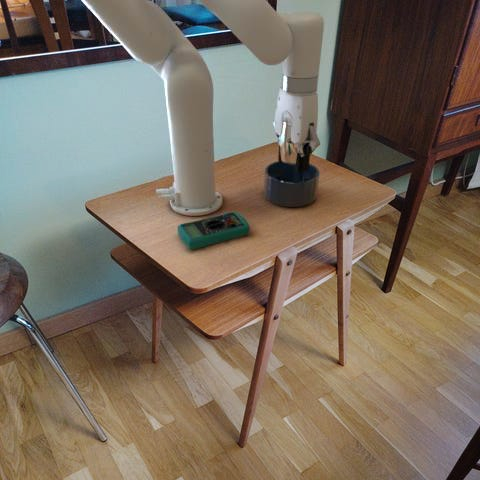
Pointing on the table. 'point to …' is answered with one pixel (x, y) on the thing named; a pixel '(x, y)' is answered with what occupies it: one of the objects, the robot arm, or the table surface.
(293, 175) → the silver metal tumbler
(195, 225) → the digital multimeter
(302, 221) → the table surface
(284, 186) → the dark blue bowl
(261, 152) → the table surface
